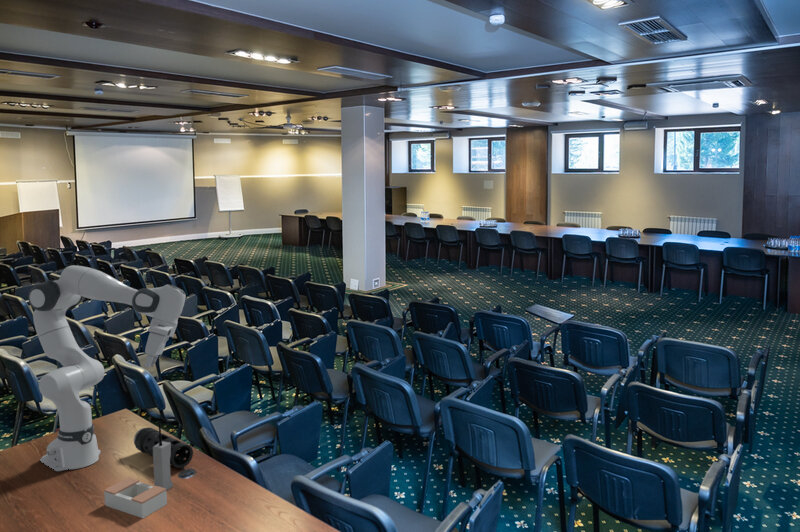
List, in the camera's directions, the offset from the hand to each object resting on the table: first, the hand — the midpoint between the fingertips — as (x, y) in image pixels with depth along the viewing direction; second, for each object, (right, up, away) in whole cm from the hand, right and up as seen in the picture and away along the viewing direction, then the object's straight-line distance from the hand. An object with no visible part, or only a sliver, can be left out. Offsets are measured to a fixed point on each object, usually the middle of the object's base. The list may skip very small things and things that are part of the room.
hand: (148, 366), depth 220 cm
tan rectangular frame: (0, -45, -11) cm, 46 cm away
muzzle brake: (-4, -41, +23) cm, 47 cm away
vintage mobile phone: (+6, -44, -1) cm, 44 cm away
